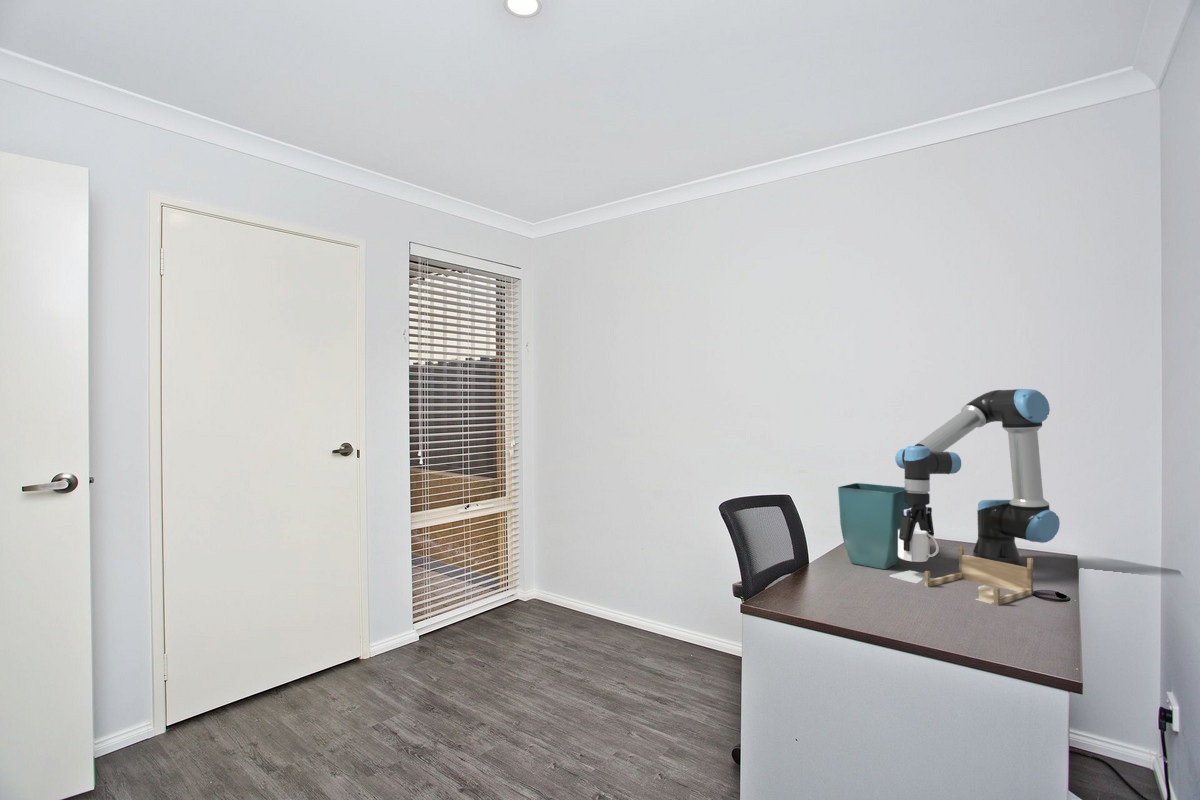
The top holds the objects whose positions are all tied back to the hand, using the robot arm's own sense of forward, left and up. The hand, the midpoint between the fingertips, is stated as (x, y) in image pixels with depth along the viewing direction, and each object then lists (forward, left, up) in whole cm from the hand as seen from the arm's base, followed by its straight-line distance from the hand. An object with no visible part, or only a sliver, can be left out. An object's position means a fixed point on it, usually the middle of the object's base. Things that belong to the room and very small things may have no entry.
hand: (916, 558), depth 199 cm
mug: (-1, 0, 0) cm, 1 cm away
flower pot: (-5, -19, -7) cm, 21 cm away
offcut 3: (+8, +26, -7) cm, 28 cm away
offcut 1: (+8, +26, -3) cm, 28 cm away
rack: (0, +20, -7) cm, 21 cm away
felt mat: (0, 0, -7) cm, 7 cm away
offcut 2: (+8, +26, -5) cm, 28 cm away
